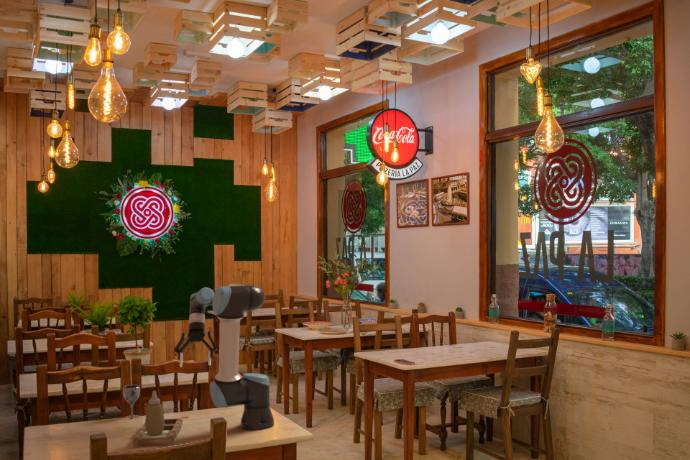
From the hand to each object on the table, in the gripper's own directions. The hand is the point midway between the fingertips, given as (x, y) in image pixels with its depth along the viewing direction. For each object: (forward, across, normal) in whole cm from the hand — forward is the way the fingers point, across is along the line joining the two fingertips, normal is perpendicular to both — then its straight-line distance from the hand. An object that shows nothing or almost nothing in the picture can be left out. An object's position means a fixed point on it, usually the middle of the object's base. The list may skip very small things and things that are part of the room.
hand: (195, 365), depth 312 cm
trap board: (+34, +12, +12) cm, 38 cm away
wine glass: (+18, +34, -19) cm, 43 cm away
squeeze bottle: (+36, +11, +22) cm, 43 cm away
